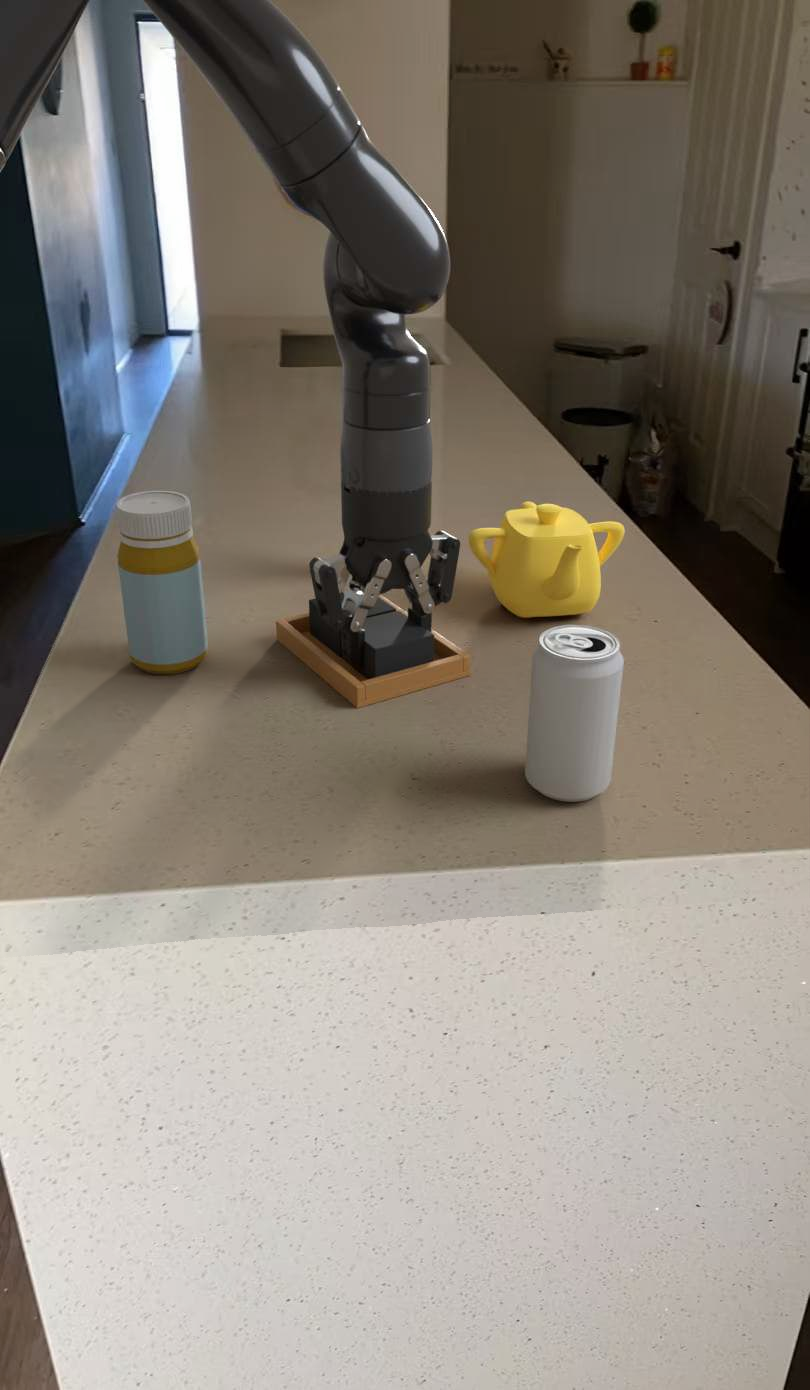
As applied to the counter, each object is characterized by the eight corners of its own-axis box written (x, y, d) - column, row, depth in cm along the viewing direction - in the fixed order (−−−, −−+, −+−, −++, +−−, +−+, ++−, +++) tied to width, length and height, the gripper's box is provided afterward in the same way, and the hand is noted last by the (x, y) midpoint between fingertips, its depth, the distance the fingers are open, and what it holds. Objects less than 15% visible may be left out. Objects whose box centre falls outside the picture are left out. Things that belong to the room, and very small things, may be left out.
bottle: (185, 682, 96) (168, 519, 89) (116, 669, 98) (94, 509, 91) (221, 649, 102) (209, 494, 95) (155, 638, 104) (138, 485, 96)
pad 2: (375, 685, 94) (375, 649, 93) (342, 658, 99) (341, 623, 97) (433, 670, 97) (434, 634, 96) (398, 644, 102) (399, 610, 100)
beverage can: (600, 815, 79) (617, 667, 73) (514, 797, 80) (523, 651, 75) (616, 770, 84) (633, 629, 78) (535, 754, 86) (546, 615, 80)
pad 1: (340, 657, 99) (339, 622, 98) (309, 633, 104) (308, 599, 102) (396, 643, 102) (396, 608, 100) (364, 620, 106) (364, 586, 105)
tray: (357, 708, 92) (356, 687, 91) (276, 639, 104) (275, 620, 103) (470, 675, 97) (471, 655, 96) (381, 613, 109) (381, 595, 108)
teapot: (635, 602, 112) (647, 506, 107) (571, 644, 103) (580, 541, 98) (523, 570, 119) (529, 478, 115) (454, 606, 111) (457, 509, 106)
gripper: (434, 450, 96) (431, 624, 104) (287, 475, 89) (295, 659, 97) (484, 472, 90) (476, 654, 98) (330, 501, 83) (336, 693, 92)
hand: (386, 655), depth 98 cm, fingers closed on pad 2, 6 cm apart
